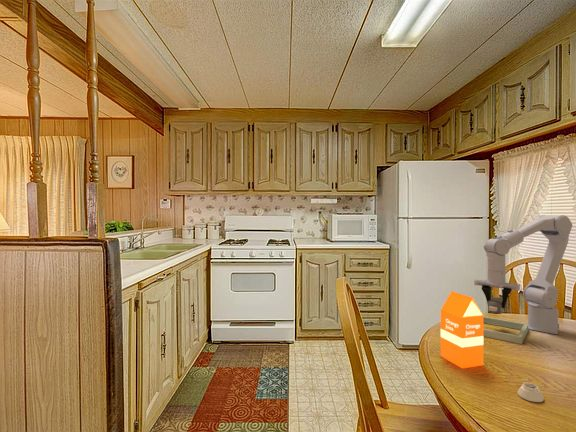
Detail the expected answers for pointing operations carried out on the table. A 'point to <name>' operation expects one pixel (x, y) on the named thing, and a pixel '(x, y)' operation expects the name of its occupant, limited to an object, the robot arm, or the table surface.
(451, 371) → the table surface
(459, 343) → the orange juice
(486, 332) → the sage frame
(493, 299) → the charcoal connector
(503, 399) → the table surface
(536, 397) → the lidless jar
